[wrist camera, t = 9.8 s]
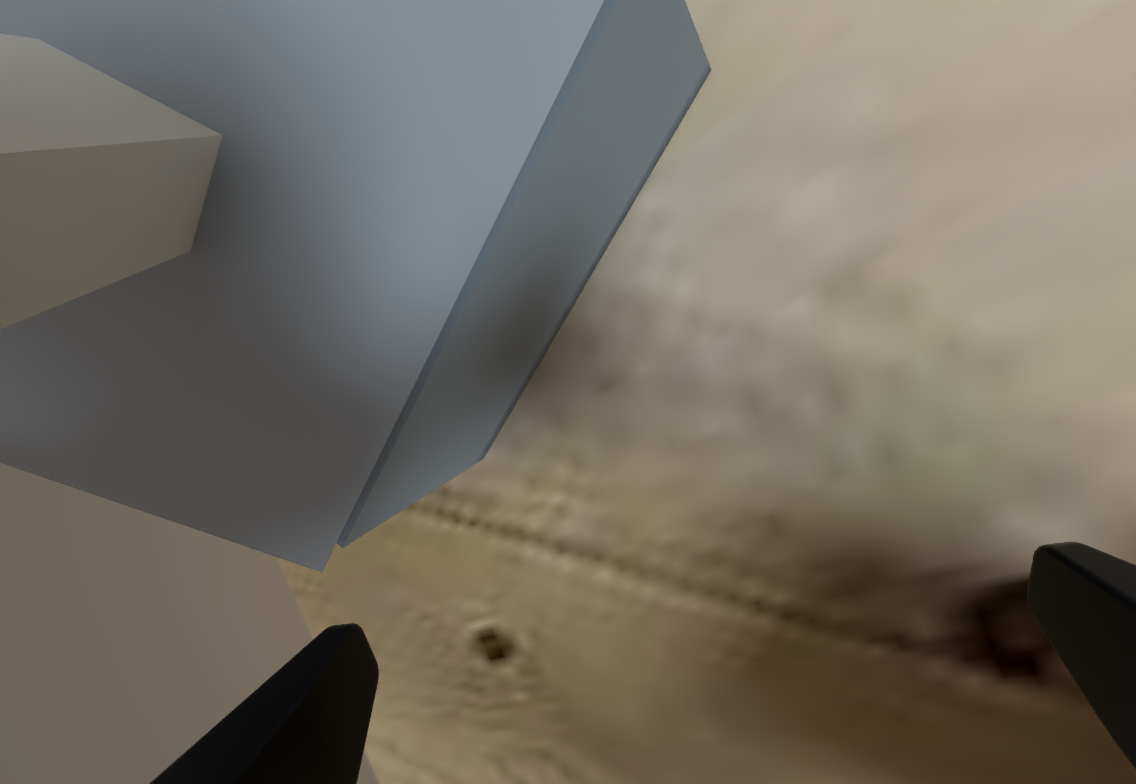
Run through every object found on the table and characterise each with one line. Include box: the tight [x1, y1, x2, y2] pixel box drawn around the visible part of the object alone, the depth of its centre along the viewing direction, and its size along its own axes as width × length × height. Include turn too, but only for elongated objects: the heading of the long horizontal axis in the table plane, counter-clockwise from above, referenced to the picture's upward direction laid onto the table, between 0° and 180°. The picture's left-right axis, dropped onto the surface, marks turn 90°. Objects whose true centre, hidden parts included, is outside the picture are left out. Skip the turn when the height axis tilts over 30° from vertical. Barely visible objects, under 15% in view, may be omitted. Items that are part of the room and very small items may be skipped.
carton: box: [336, 0, 711, 548], centre depth 17 cm, size 10×16×8 cm, turn 148°
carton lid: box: [0, 0, 604, 572], centre depth 9 cm, size 10×16×6 cm, turn 148°
